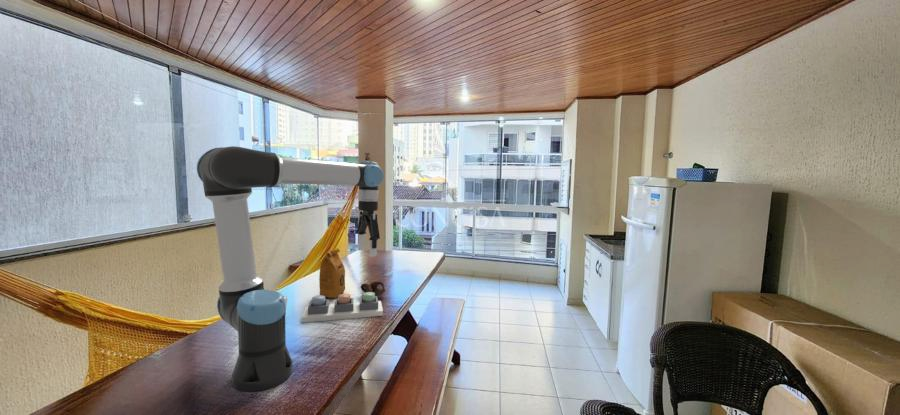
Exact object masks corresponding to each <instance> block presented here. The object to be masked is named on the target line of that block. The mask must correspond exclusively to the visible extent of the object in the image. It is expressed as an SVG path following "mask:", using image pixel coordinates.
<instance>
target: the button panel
mask: <svg viewBox="0 0 900 415" xmlns="http://www.w3.org/2000/svg"><path fill="white" fill-rule="evenodd" d="M382 316H384V309H383V304H382V300H379V298H378V297H377V296H375V301H374V302H365V303H364V302H363V296H360V297H359V302H354V297H351V300H350V303H349V304H338V298H335V299H334V303H330V300H329V299H325V305H324V306H312V300H310V301H309V303H308V305H306V306H305V309H304V312H303V315H302V317H301V318H302V319H301V320H302V321H301V322H302V323H312V322H313V323H314V322H323V321H324V322H325V321H333V320H334V321H335V320H345V319H357V318H369V317H371V318H372V317H382Z"/></svg>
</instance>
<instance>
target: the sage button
mask: <svg viewBox="0 0 900 415" xmlns="http://www.w3.org/2000/svg"><path fill="white" fill-rule="evenodd" d="M362 297H363V302H364V303H365V302H374V301H375V292H374V293H373V292H366V293H365V292H363V293H362Z"/></svg>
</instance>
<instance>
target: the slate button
mask: <svg viewBox="0 0 900 415" xmlns="http://www.w3.org/2000/svg"><path fill="white" fill-rule="evenodd" d="M325 300H326V298H325V296H323V295H320V294H319V295H315V296H312V297H311V301H312V306H324V305H325Z"/></svg>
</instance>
